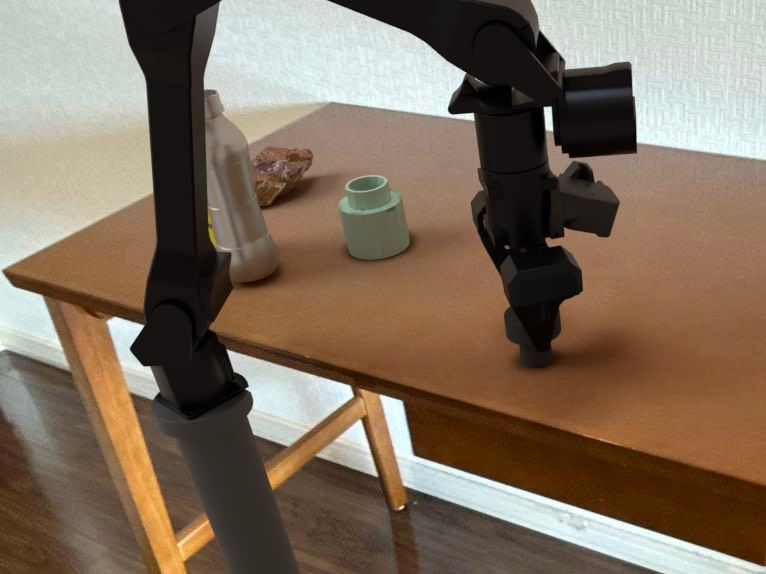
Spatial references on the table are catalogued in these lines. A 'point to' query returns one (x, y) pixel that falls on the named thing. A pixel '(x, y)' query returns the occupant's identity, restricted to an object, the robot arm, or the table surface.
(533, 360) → the stopper
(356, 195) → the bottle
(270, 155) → the mineral specimen
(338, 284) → the table surface
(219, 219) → the plastic bottle
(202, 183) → the robot arm
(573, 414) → the table surface
